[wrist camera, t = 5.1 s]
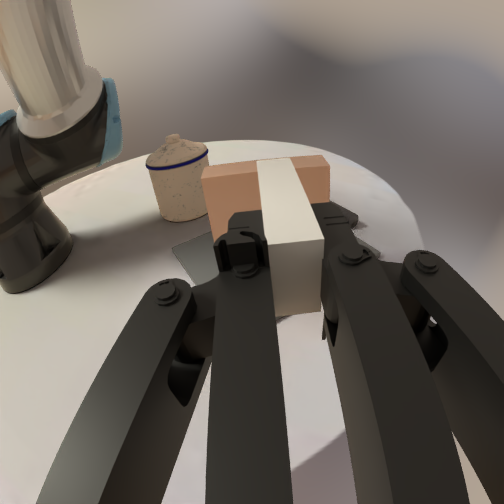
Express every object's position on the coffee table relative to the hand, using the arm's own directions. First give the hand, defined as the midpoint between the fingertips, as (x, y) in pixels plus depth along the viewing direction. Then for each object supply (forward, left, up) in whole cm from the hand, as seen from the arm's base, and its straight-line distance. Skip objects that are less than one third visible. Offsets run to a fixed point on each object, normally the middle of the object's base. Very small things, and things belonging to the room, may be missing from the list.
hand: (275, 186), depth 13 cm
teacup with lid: (+4, +31, -15) cm, 34 cm away
